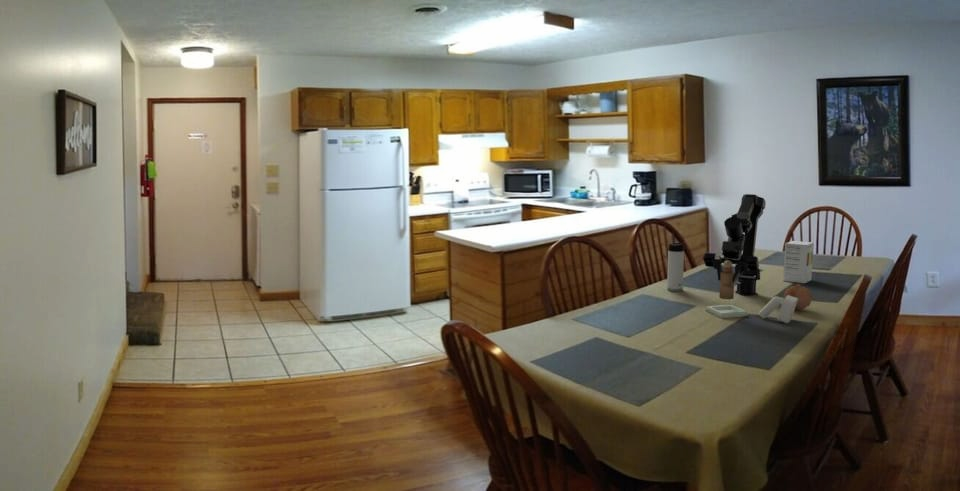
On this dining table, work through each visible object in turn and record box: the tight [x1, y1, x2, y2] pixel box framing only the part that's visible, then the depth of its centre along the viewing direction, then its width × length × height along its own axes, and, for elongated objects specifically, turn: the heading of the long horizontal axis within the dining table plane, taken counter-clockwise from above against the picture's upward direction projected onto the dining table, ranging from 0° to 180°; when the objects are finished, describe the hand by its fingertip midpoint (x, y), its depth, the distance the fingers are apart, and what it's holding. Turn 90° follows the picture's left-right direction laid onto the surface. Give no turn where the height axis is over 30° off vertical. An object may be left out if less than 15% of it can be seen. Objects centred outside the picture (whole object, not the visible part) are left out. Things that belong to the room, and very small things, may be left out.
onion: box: [783, 282, 813, 311], centre depth 251 cm, size 10×9×10 cm
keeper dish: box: [705, 304, 748, 319], centre depth 248 cm, size 10×10×2 cm
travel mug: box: [666, 241, 686, 293], centre depth 285 cm, size 6×7×20 cm
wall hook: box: [758, 295, 798, 324], centre depth 239 cm, size 8×10×10 cm
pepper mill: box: [718, 260, 735, 300], centre depth 247 cm, size 5×5×14 cm
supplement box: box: [782, 240, 814, 284], centre depth 299 cm, size 10×9×17 cm
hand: (726, 280), depth 246 cm, fingers closed on pepper mill, 5 cm apart
